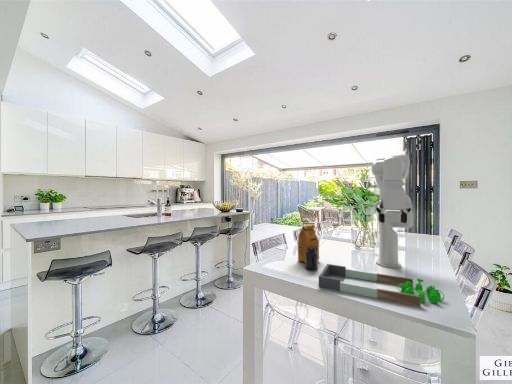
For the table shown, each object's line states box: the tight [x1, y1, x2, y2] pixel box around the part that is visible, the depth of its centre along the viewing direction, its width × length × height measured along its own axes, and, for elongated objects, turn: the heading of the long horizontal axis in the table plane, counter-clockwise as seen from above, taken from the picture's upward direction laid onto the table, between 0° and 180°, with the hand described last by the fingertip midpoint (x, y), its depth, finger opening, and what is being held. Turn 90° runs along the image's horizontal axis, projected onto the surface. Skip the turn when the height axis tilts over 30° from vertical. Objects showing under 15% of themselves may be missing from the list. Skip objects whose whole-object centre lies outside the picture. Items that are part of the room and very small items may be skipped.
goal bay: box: [339, 268, 378, 299], centre depth 101 cm, size 20×14×4 cm
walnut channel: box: [376, 272, 422, 308], centre depth 94 cm, size 20×14×4 cm
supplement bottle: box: [304, 246, 319, 271], centre depth 123 cm, size 7×7×12 cm
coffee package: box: [297, 224, 320, 263], centre depth 137 cm, size 10×12×22 cm
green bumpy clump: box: [397, 278, 445, 305], centre depth 90 cm, size 15×15×7 cm
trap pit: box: [318, 263, 347, 292], centre depth 106 cm, size 20×9×4 cm, turn 152°
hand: (392, 222), depth 101 cm, fingers open, 9 cm apart
